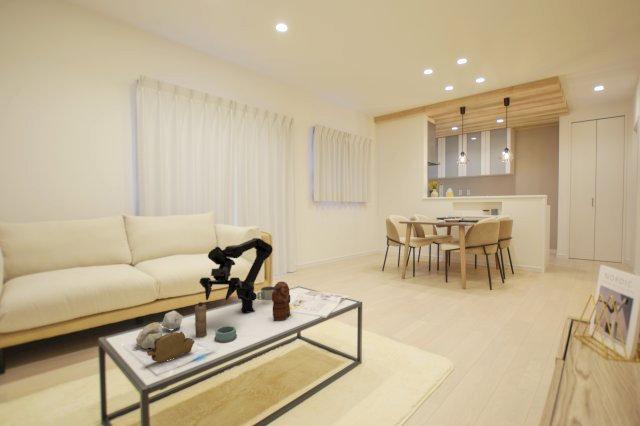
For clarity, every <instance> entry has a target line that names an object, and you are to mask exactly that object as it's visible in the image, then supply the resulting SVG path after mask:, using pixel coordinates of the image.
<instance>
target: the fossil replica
mask: <svg viewBox="0 0 640 426" xmlns="http://www.w3.org/2000/svg"><path fill="white" fill-rule="evenodd" d="M161 325H162V324H160V323H159V322H158V321H156V322H155V321H154V322H152V323H151V322H150V323H149V324H146V325H145V326H144V327H143V328H142V330H141V331H139V333H138V335H137V337H136V344H137V345H139V346H140V347H141V348H143V349H145V350H149V348H150V349H153V348H154V347H155V345H154V342H155V340H156V339H158V338H160V337H161V336H163V326H161Z"/></svg>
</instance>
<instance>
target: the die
mask: <svg viewBox="0 0 640 426" xmlns="http://www.w3.org/2000/svg"><path fill="white" fill-rule="evenodd" d="M183 318H184V316H183V315H182V314H180V313H179V312H178V311H176V310H172V311H169V312H167V313H165V314H164V318H163V320H162V322H161V324H160V325H161V327H162V328H165V329H166V330H168V329H175V330H177V329H179V328H180V327H181V324H182V323H183ZM176 328H177V329H176Z"/></svg>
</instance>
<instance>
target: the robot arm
mask: <svg viewBox="0 0 640 426" xmlns="http://www.w3.org/2000/svg"><path fill="white" fill-rule="evenodd" d="M253 248H254V249H255V256H256V257H255V259H254V260H253V263H252V265H251V266H250V269H249V271H248V272H247V273H248V274H247V276H246V277H245V279H244V280H241V279H240V278H239V277H231V270H232V266H236V262H235V261H234V259H238V258H240V257H242V255H243V254H244V253H245V252H247V251H250V250H252V249H253ZM273 249H274V248H273V246H272V245H271V244H269V243H268V242H266V241H265V240H263V239H262V238H257V237H256V238H255V237H254V238H252V239H250V240H247V241H245V242H242V243H240V244H233V245H227V246H226V247H225V248H224V249H222V248H221V247H220V246H215V247H214V248H213V249H211V250H210V251H209V252H208V254H207V258H208V259H209V260H210V261H211V262H213V263H214V264H215V265H218V267H217V268H211V274H210V276H211V277H212V278H213V279H214V280H213V279H211V278H210V277H200V279H199V283H198V284H200V285H201V286H202V287H203V288H204V293H205V300H206V301H208V300H209V298H210V295H211V292H212V289H213V288H212V287H213V285H219V286H220V285H221V286H222V285H224V286H225V285H228V288H227V292H226V295H225V301H228V300H229V298H230V297H231V296H232V295H233V294H234V293H235V292H236V296H237V299H238V300H241V308H240V311H241V313H243V314H245V313H246V314H247V313H252V312H255V309H254V302H255V300H256V299H257V296H258V294H257V293H256V292H254V291H255V282H256V280H257V278H258V275H259V273H260V271H261V269H262V267H263V264H264V263H265V261H266V260H267V259H268V258H269V257H270V256H271V255H272V253H273Z"/></svg>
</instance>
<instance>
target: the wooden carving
mask: <svg viewBox="0 0 640 426" xmlns="http://www.w3.org/2000/svg"><path fill="white" fill-rule="evenodd" d="M194 344H195V340H194V339H193V338H190V337H186V336H185V333H184V332H183V331H180V332H176V331H174V332H173V331H171V332H168V333H167V334H164V335H163V334H162V336H161V337H160V338H158V339H156V340H155V342H154V345H155V347H154V348H150V349H147V350H146V355H147V356H149V357H151V360H152V361H153V362H163V363H164V361H165V362H168V361H167V360H170V359H173V358H175V359H177V358H179V357H180V356H181V355H183V354H189V353H190V352H191V351H192V348H193V346H194ZM178 356H179V357H178ZM176 357H177V358H176ZM173 360H174V359H173ZM170 361H171V360H170Z"/></svg>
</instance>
